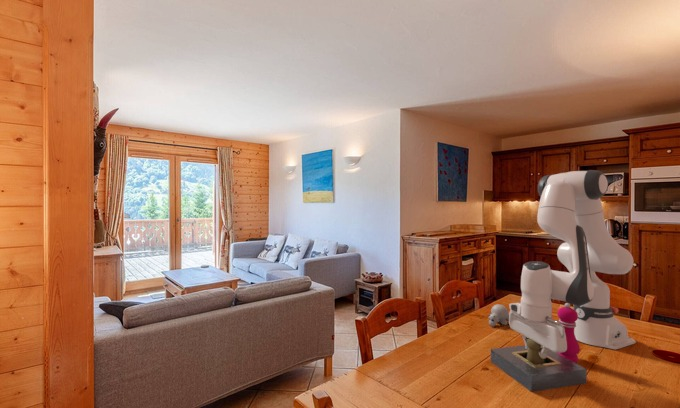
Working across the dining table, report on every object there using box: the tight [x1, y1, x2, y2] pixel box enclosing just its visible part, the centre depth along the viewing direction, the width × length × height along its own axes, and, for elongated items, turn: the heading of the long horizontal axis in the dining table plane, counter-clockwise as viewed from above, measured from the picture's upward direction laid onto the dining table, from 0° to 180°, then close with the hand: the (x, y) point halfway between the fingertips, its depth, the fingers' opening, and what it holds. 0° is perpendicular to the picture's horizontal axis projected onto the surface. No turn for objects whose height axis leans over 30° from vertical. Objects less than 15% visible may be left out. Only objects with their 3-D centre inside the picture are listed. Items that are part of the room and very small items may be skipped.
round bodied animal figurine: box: [487, 303, 509, 327], centre depth 146 cm, size 7×12×8 cm, turn 118°
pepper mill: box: [556, 302, 581, 364], centre depth 114 cm, size 7×7×20 cm
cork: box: [527, 338, 545, 365], centre depth 106 cm, size 6×6×11 cm
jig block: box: [490, 344, 588, 393], centre depth 106 cm, size 20×18×5 cm
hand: (535, 353), depth 106 cm, fingers closed on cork, 4 cm apart
